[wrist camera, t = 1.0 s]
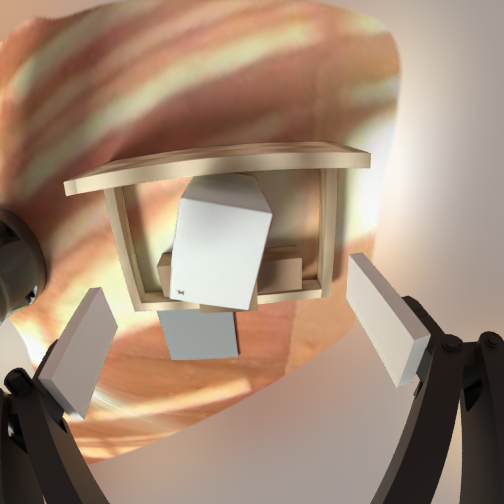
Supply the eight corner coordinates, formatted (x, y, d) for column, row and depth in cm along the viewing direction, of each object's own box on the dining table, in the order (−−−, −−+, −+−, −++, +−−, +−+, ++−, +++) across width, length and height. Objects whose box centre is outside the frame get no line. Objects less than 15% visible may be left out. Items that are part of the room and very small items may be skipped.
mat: (172, 358, 41) (172, 360, 41) (156, 305, 37) (155, 307, 36) (238, 355, 42) (238, 356, 41) (231, 300, 37) (231, 302, 37)
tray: (139, 300, 36) (118, 353, 27) (108, 161, 28) (63, 182, 19) (325, 286, 37) (350, 336, 28) (330, 141, 29) (370, 153, 20)
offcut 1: (169, 281, 36) (164, 296, 33) (163, 252, 34) (156, 266, 31) (224, 276, 36) (224, 292, 33) (220, 247, 34) (219, 260, 31)
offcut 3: (239, 279, 36) (240, 295, 33) (236, 250, 34) (237, 264, 31) (295, 273, 36) (301, 288, 33) (295, 244, 35) (302, 257, 32)
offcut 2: (202, 297, 33) (200, 313, 30) (198, 266, 31) (195, 280, 28) (255, 294, 33) (257, 310, 30) (254, 263, 31) (256, 277, 29)
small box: (242, 243, 34) (249, 313, 22) (187, 234, 33) (167, 301, 21) (257, 175, 31) (275, 212, 19) (198, 165, 30) (177, 196, 18)
